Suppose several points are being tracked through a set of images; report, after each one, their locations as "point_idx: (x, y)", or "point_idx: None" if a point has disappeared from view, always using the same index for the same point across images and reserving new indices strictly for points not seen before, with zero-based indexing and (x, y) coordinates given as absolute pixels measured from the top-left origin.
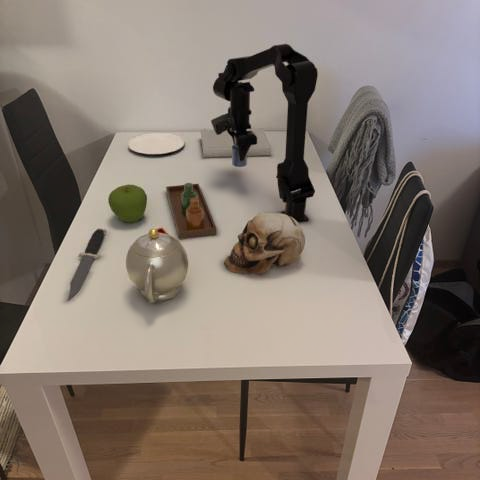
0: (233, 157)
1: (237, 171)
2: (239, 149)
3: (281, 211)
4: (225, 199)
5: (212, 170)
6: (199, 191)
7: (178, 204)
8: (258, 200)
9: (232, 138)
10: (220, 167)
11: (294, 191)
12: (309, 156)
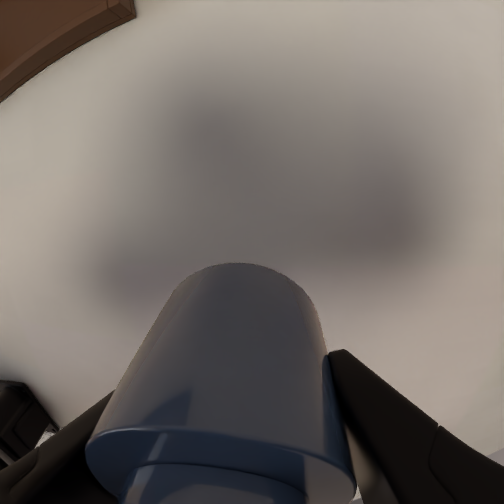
0: (155, 331)
1: (416, 251)
2: (12, 473)
3: (23, 387)
4: (40, 188)
5: (435, 89)
6: (37, 45)
7: (2, 7)
8: (68, 339)
9: (485, 493)
10: (472, 146)
11: (7, 455)
12: None
